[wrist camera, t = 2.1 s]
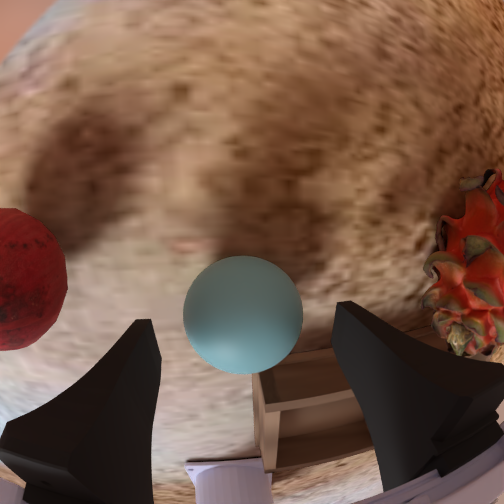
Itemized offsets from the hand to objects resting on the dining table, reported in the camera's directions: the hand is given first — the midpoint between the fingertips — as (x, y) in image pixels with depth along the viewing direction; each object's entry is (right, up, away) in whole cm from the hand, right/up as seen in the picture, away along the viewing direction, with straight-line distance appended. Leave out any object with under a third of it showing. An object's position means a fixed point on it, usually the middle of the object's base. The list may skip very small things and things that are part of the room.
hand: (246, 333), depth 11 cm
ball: (0, 0, +1) cm, 1 cm away
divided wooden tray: (+10, -7, +9) cm, 15 cm away
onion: (-11, +4, +2) cm, 11 cm away
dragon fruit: (+13, +4, +4) cm, 14 cm away
